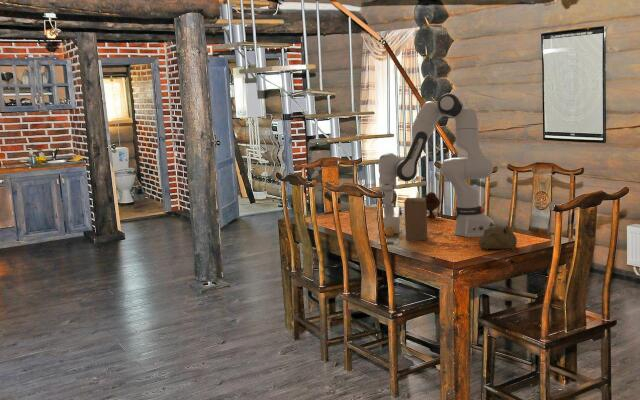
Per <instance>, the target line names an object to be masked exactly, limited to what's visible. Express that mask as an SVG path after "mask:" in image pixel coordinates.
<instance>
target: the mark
mask: <svg viewBox="0 0 640 400" xmlns="http://www.w3.org/2000/svg"><path fill="white" fill-rule="evenodd" d="M386 239H387V242H394V244H393V245H398V244H399V238H390V237H389V238H386Z"/></svg>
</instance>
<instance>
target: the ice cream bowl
mask: <svg viewBox="0 0 640 400" xmlns="http://www.w3.org/2000/svg"><path fill="white" fill-rule="evenodd" d="M422 198H426V211H428V212H429V214H428V215H427V219H436V218H437V216H436V215H434V214H433V212H434V211H435V210H436V209H438V208H439V207H440V205H441V201H440V199H439V198H438V197H437V194H436V193H435V192H432V191H429V192H427V194H425V195H424V196H422Z"/></svg>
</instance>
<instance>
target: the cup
mask: <svg viewBox="0 0 640 400" xmlns="http://www.w3.org/2000/svg"><path fill="white" fill-rule="evenodd" d="M400 219H401V218H400V213H399V207H398V206H396V207H394V205H393V203H391V205H390V212H386V205H384V208H383V220H384V228H385V229H386V228H387V227H391V228H393V230H394V234H399V233H400V227H401V226H400V225H401V220H400Z"/></svg>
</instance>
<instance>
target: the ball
mask: <svg viewBox="0 0 640 400" xmlns="http://www.w3.org/2000/svg"><path fill="white" fill-rule="evenodd" d="M385 234H386V235H385ZM394 234H395V233H394V230H393V228H391V227H387V228H386V229H385V233H384V235H385V236H386V237H387V238H390V237H393V236H394Z"/></svg>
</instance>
